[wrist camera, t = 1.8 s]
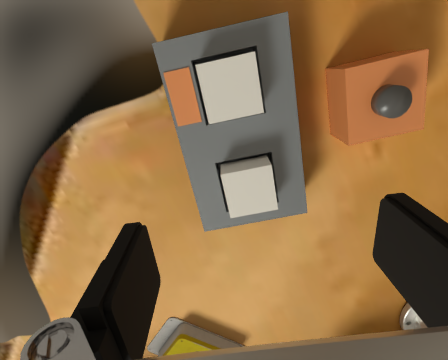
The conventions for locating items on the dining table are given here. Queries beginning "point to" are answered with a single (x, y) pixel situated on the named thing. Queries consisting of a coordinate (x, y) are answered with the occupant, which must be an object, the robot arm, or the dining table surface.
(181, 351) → the emergency button
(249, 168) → the block
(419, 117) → the lockout cap
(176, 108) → the breaker panel
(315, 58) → the dining table surface
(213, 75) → the button
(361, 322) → the dining table surface
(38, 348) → the robot arm
